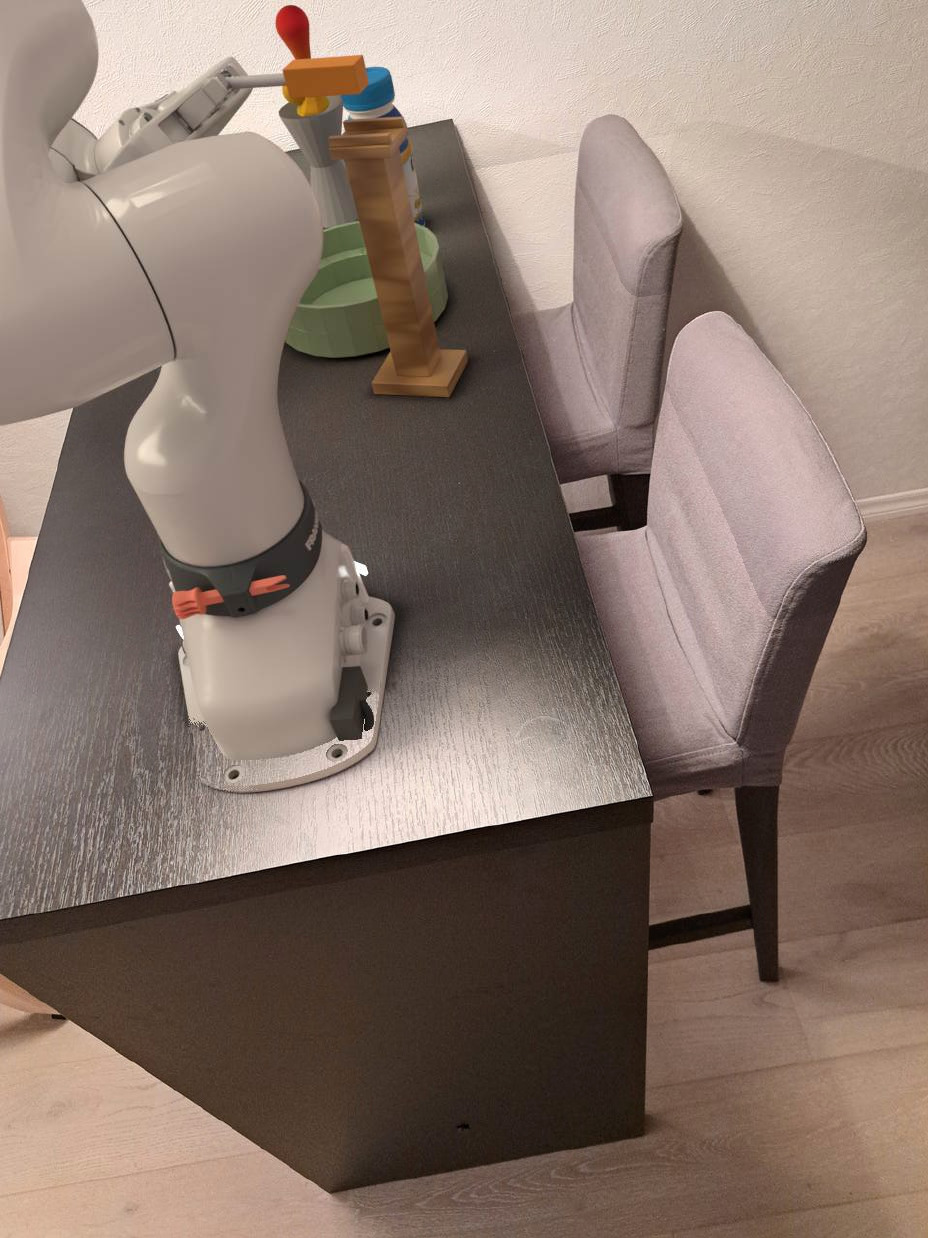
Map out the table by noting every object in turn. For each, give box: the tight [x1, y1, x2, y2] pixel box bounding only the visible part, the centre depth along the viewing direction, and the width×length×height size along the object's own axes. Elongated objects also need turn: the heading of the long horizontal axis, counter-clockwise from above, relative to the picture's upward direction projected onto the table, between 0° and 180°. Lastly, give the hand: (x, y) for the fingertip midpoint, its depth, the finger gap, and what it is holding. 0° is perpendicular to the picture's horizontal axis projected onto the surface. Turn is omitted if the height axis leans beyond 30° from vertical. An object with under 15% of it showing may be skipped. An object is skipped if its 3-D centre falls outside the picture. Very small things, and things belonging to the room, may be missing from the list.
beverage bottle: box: [341, 66, 426, 227], centre depth 125 cm, size 8×8×20 cm
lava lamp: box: [274, 4, 359, 229], centre depth 126 cm, size 9×9×35 cm
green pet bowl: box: [284, 220, 449, 359], centre depth 115 cm, size 21×21×7 cm
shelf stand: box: [328, 116, 469, 398], centre depth 96 cm, size 9×7×27 cm
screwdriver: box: [203, 54, 369, 98], centre depth 86 cm, size 16×2×2 cm, turn 73°
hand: (229, 77), depth 87 cm, fingers closed on screwdriver, 1 cm apart
